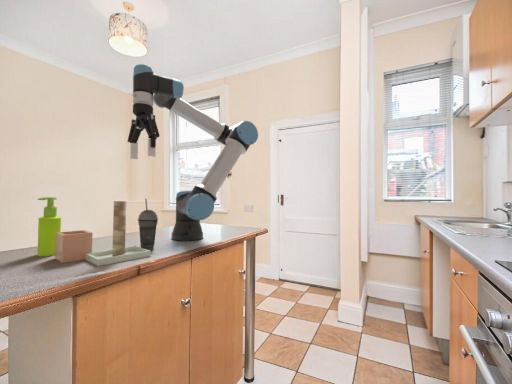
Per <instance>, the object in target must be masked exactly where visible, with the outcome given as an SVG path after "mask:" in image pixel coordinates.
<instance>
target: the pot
mask: <svg viewBox="0 0 512 384" xmlns="http://www.w3.org/2000/svg"><path fill="white" fill-rule="evenodd" d="M92 252H93V232H91V231H88V230H84V229H81V230H79V229H78V230H69V231H61V232H56V233H55V255H54V259H55V260H56V261H58V262H60V263H61V264H65V263H71V262H77V261H83V260H84V261H85V254H86V253H92Z"/></svg>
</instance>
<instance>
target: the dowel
mask: <svg viewBox="0 0 512 384" xmlns="http://www.w3.org/2000/svg"><path fill="white" fill-rule="evenodd" d="M126 217H127V201H125V200H115V201H113V217H112V221H113V223H112V249H113V251H112V256H118V255H124V254H125V247H126V229H127V228H126V226H127V225H126V224H127V223H126V222H127V218H126Z"/></svg>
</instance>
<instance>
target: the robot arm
mask: <svg viewBox="0 0 512 384" xmlns="http://www.w3.org/2000/svg"><path fill="white" fill-rule="evenodd" d="M132 74H133V76H132V103H133V104H132V114H133V115H134V116H135V118H132V119H131V123H130V124H131V125H130V129H129V133H128V137H127V143H130V159H131V160H132V159H133V160H138V159H139V157H138V156H139V143H138V141H139V139H140V136H141V134H142V132H143V131H144V130H145V131H146V134H147V157H156V146H157V144H156V143H157V142H156V141H157V139H158V138H160V133H159V129H158V125H157V122H156V115H154V105H156V107H159V108H161V109H164V108H166V109H167V110H169V111H170V112H173V113H174V114H175V115H177V116H179V118H182V119H184V120H186V121H188V122H189V123H190V124H192V125H193V126H196V127H197V128H199V129H201V130H202V131H204V132H205V133H207V134H208V135H211V136H212V137H213V138H214V140H215V141H217V142H218V143H220V144H222V145H224V147H223V148H222V150H221V152H220V154H219V155H218V156H217V158H216V159H215V161H214V162H213V164H212V166H211V167H210V168H209V170H208V171H207V173H206V175H204V178H203V179H202V181H200V183H199V184H196V185H194V187H193V188H192V189H191V190H181V191H178V192H176V195H175V223H174V227H173V229H172V232H171V239H172V240H174V241H182V242H183V241H197V240H198V241H199V240H201V239H203V238H204V232H203V229H202V225H201V221H203V220H206V219H208V218H209V217H211V215H212V214H213V212H214V211H215V210H214V209H215V203H216V201H217V199H218V197H217V193H218V192H219V190H220V188H222V186H223V184H224V183H225V180H226V179H227V178H228V175H229V174H230V173H231V171H232V170H233V168H234V166H235V165H236V163H237V162H238V160H239V158H240V157H241V156H242V155H245V154H246V152H247V151H248V150H249V148H250V146H251V145H254V144H255V143H256V142H258V141H257V140H258V139H259V132H258V127H256V125H255V124H254V123H253V122H252V121H249V120H243V121H240V122H238V123H237V124H235V125H233V126H229V125H227V124H225V123H220V122H218V121H217V120H215V119H213V118H212V117H210V116H209V115H207V114H206V113H204V112H203V111H201V110H200V109H198V108H196V107H195V106H193V105H191V104H190V103H189V102H187V101H185V100H184V99H182V97H183V95H184V87H185V86H184V82H183V81H182V80H179V79H176V78H171V77H167V76H163V75H159V74H156V73H155V72H154V69H153V68H152V67H151V66H149V65H147V64H142V63H140V64H136V65H135V66H134V67H133V73H132Z"/></svg>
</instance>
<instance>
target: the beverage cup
mask: <svg viewBox="0 0 512 384" xmlns="http://www.w3.org/2000/svg"><path fill="white" fill-rule="evenodd" d="M144 200H145V209H144V210H143V211H141V212H140V214H139V215H138V219H137V221H138V226H139V227H138V229H139V241H140V248H144V249H147V250H150V251H153V250H154V247H155V243H156V241H155V240H156V232H157V231H156V230H157V226H158V225H157V224H158V220H159V218H158V214H157V212H155V211H154V210H152V209H149V208H148V201H147V200H148V199H147V198H145V199H144Z"/></svg>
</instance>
